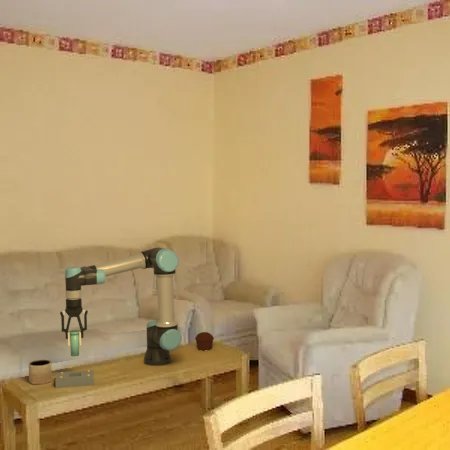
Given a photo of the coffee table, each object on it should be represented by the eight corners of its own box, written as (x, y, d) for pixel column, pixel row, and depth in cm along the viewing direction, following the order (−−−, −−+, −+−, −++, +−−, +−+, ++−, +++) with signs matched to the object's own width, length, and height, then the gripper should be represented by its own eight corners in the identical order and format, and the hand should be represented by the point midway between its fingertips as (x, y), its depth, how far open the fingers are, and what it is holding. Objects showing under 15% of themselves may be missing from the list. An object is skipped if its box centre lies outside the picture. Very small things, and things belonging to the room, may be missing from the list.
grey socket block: (93, 377, 294) (93, 368, 294) (93, 385, 282) (93, 375, 282) (57, 380, 290) (56, 371, 290) (55, 387, 278) (55, 378, 278)
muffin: (217, 348, 350) (217, 332, 350) (206, 352, 342) (206, 335, 341) (203, 345, 358) (202, 329, 357) (191, 349, 349) (191, 333, 349)
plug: (80, 353, 288) (79, 330, 288) (79, 356, 284) (79, 332, 283) (70, 354, 287) (69, 330, 287) (69, 356, 283) (69, 332, 282)
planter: (33, 378, 294) (33, 359, 293) (54, 378, 293) (54, 359, 293) (25, 385, 283) (25, 365, 282) (47, 385, 282) (47, 365, 282)
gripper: (92, 296, 290) (93, 341, 291) (55, 297, 286) (56, 344, 287) (92, 298, 282) (93, 345, 284) (54, 300, 278) (55, 348, 280)
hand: (74, 344), depth 285 cm, fingers closed on plug, 5 cm apart
